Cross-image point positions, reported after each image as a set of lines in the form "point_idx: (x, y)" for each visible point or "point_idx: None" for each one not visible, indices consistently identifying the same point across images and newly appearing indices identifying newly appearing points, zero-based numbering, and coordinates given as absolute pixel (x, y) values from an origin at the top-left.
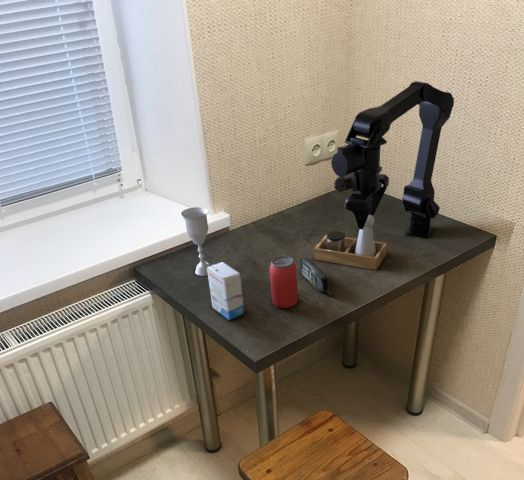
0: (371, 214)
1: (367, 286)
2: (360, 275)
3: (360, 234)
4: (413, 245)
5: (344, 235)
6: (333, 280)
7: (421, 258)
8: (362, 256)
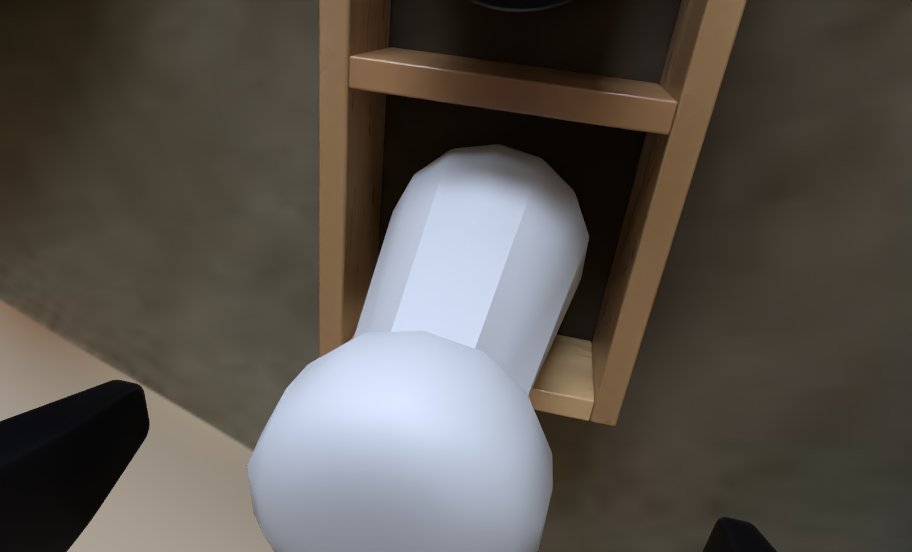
0: (714, 545)
1: (146, 281)
2: (252, 218)
3: (381, 291)
4: (768, 519)
5: (532, 5)
6: (105, 25)
7: (571, 547)
8: (320, 252)
